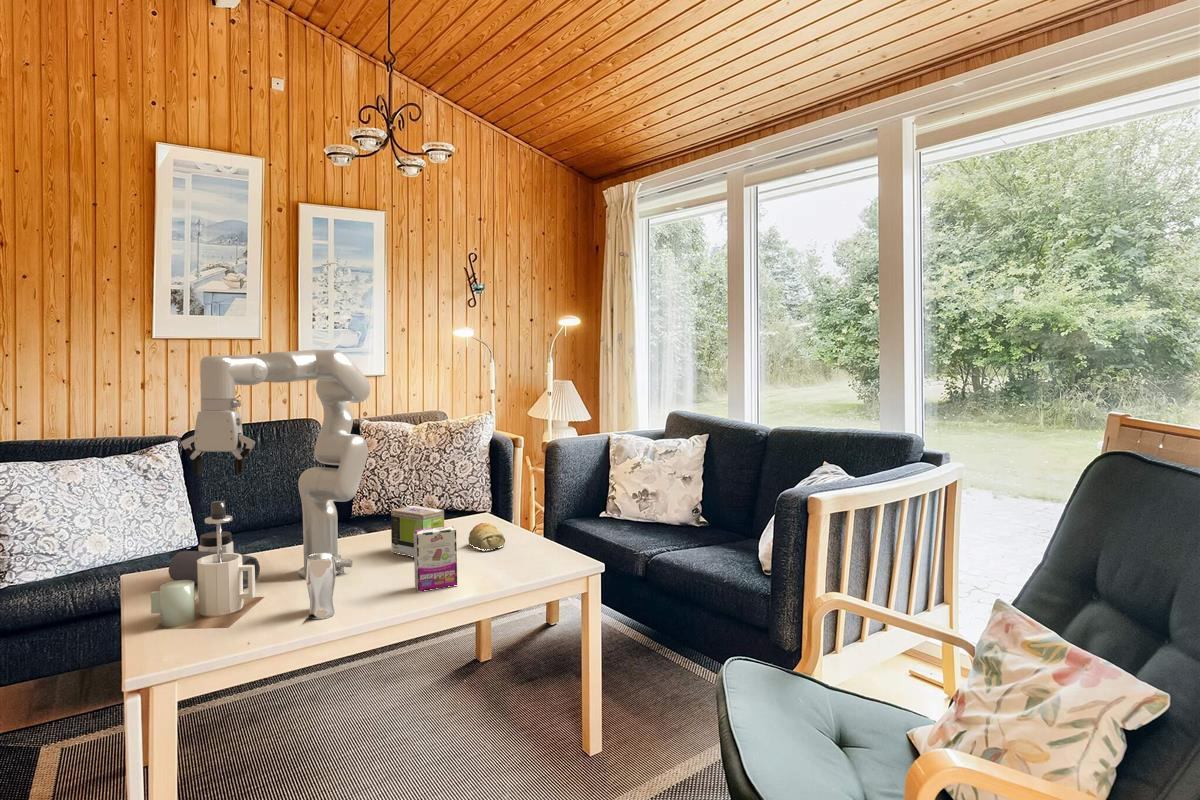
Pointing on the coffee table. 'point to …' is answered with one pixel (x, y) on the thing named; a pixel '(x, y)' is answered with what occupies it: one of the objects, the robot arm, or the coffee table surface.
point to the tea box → (412, 525)
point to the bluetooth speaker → (186, 566)
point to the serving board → (216, 621)
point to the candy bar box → (435, 558)
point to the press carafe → (223, 584)
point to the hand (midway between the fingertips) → (218, 474)
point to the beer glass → (320, 584)
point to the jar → (210, 542)
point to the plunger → (218, 524)
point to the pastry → (486, 537)
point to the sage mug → (174, 603)
